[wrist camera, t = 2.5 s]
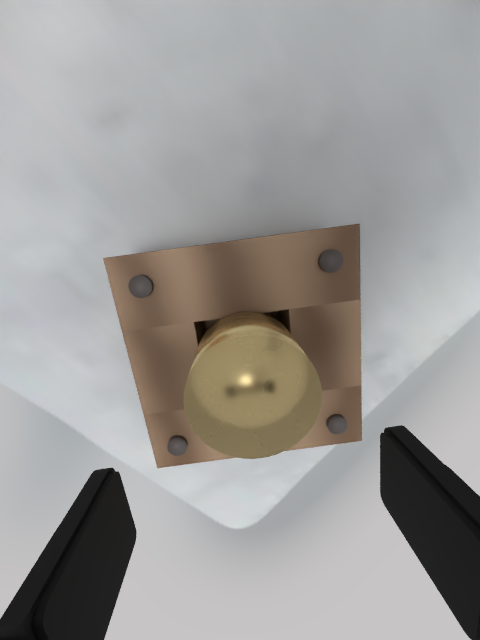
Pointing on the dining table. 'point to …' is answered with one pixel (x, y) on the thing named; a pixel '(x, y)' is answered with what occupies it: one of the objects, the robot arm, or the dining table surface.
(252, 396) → the yellow translucent cylinder
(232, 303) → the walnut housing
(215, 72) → the dining table surface
